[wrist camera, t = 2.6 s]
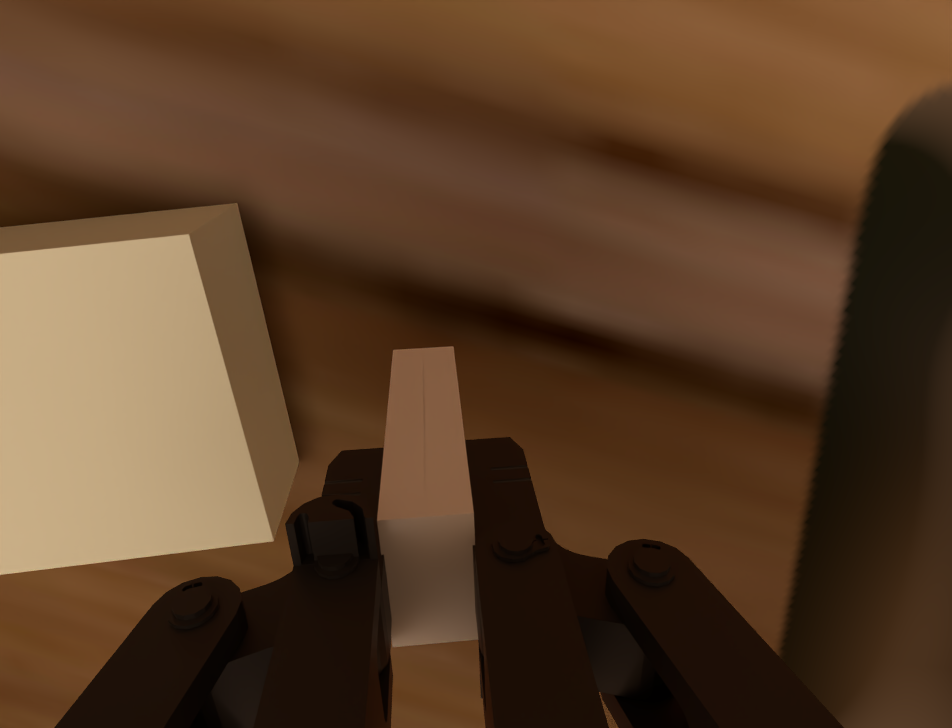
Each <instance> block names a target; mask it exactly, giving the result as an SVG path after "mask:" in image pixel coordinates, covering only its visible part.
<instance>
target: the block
mask: <svg viewBox="0 0 952 728" xmlns="http://www.w3.org/2000/svg"><path fill="white" fill-rule="evenodd" d="M298 464H299V458H298V454H297V450H296V445H295V441H294V437H293V433H292V429H291V425H290V420H289V416H288V412H287V408H286V404H285V400H284V396H283V391H282V387H281V383H280V379H279V375H278V371H277V366H276V362H275V358H274V354H273V350H272V346H271V341H270V337H269V333H268V329H267V325H266V321H265V317H264V312H263V308H262V304H261V300H260V296H259V292H258V287H257V283H256V279H255V275H254V271H253V267H252V263H251V258H250V254H249V250H248V246H247V242H246V238H245V233H244V229H243V225H242V221H241V217H240V213H239V208H238V204H237V203H232V204H222V205H213V206H203V207H193V208H184V209H174V210H164V211H154V212H145V213H135V214H125V215H116V216H106V217H96V218H87V219H77V220H67V221H58V222H48V223H38V224H28V225H19V226H9V227H0V575H2V574H10V573H18V572H26V571H35V570H43V569H51V568H59V567H67V566H75V565H84V564H92V563H100V562H108V561H116V560H124V559H133V558H141V557H149V556H157V555H165V554H173V553H182V552H190V551H198V550H206V549H214V548H222V547H230V546H239V545H247V544H255V543H263V542H271V541H274V539H275V536H276V533H277V530H278V526H279V523H280V520H281V517H282V514H283V511H284V508H285V505H286V502H287V499H288V495H289V492H290V489H291V486H292V483H293V480H294V477H295V474H296V471H297V468H298Z"/></svg>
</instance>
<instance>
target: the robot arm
mask: <svg viewBox="0 0 952 728" xmlns="http://www.w3.org/2000/svg"><path fill="white" fill-rule="evenodd" d="M285 525H286V530H287V535H288V540H289V545H290V550H291V555H292V560H293V565H294V567H293V571H292V572H290V573H289V574H287V575H285V576H284V577H282V578H281V579H279V580H276V581H274V582H271V583H269V584H266V585H263V586H260V587H257V588H254V589H251V590H248V591H245V592H242V593H241V592H240V588H239V587H237V586H236V585H235V584H234V583H233V582H232V581H231V580H228V579H225V578H221V577H218V576H216V577H200V578H197V579H194V580H191V581H187V582H184V583H182V584H180V585H178V586H176V587H175V588H173V589H171V590H169V591H168V592H166V593H165V594H164V595H163V596H162V597H161V598H160V599H159V600H158V601H156V602H155V603H154V604H153V605H152V607H151V608H150V609H149V610H148V612H147V613H146V614H145V615H144V617H143V618H142V619H141V620H140V622H139V623H138V624H137V625H136V627H135V628H134V629H133V630H132V632H131V633H130V634H129V635H128V637H127V638H126V639H125V640H124V642H123V643H122V644H121V645H120V647H119V648H118V649H117V650H116V652H115V653H114V654H113V655H112V657H111V658H110V659H109V660H108V662H107V663H106V664H105V665H104V666H103V668H102V669H101V670H100V671H99V673H98V674H97V675H96V676H95V678H94V679H93V680H92V681H91V683H90V684H89V685H88V686H87V688H86V689H85V690H84V691H83V693H82V694H81V695H80V696H79V698H78V699H77V700H76V701H75V703H74V704H73V705H72V706H71V708H70V709H69V710H68V711H67V713H66V714H65V715H64V716H63V718H62V719H61V720H60V721H59V723H58V724H57V725H56V726H55V728H391V709H392V685H393V672H392V664H391V656H390V647H391V638H392V646H393V647H401V646H412V645H423V644H434V643H445V642H456V641H468V640H478V641H479V661H480V685H481V698H483V705H484V716H485V726H486V728H609V727H608V723H607V720H606V716H605V713H604V709H603V706H602V702H601V699H600V695H599V692H600V693H601V696H602V699H603V701H604V703H605V704H606V706H607V708H608V710H609V711H610V713H611V715H612V717H613V718H614V720H615V722H616V724H617V725H618V727H619V728H843V726H842V725H841V724H840V723H839V722H838V721H837V720H836V719H835V718H834V717H833V716H832V714H831V713H830V712H829V711H828V710H827V709H826V708H825V707H824V706H823V705H822V703H821V702H820V701H819V700H818V699H817V698H816V697H815V696H814V695H813V694H812V692H811V691H810V690H809V689H808V688H807V687H806V686H805V685H804V684H803V683H802V682H801V681H800V679H799V678H798V677H797V676H796V675H795V674H794V673H793V672H792V671H791V670H790V668H789V667H788V666H787V665H786V664H785V663H784V662H783V661H782V660H781V659H780V657H779V656H778V655H777V654H776V653H775V652H774V651H773V650H772V649H771V648H770V647H769V645H768V644H767V643H766V642H765V641H764V640H763V639H762V638H761V637H760V636H759V635H758V633H757V632H756V631H755V630H754V629H753V628H752V627H751V626H750V625H749V624H748V622H747V621H746V620H745V619H744V618H743V617H742V616H741V615H740V614H739V613H738V612H737V610H736V609H735V608H734V607H733V606H732V605H731V604H730V603H729V602H728V601H727V600H726V598H725V597H724V596H723V595H722V594H721V593H720V592H719V591H718V590H717V589H716V588H715V586H714V585H713V584H712V583H711V582H710V581H709V580H708V579H707V578H706V577H705V575H704V574H703V573H702V572H701V571H700V570H699V569H698V568H697V567H696V566H695V565H694V563H693V562H692V561H691V560H690V559H689V558H688V557H687V556H685V555H684V554H683V553H682V552H680V551H679V550H678V549H677V548H675V547H672V546H670V545H667V544H665V543H663V542H660V541H653V540H647V539H640V540H631V541H627V542H625V543H623V544H620V545H618V546H616V547H615V548H614V550H613V551H612V552H611V553H610V554H609V556H608V559H602V558H595V557H589V556H584V555H580V554H576V553H573V552H571V551H569V550H566V549H564V548H562V547H561V546H559V545H558V544H557V543H556V542H555V541H554V539H553V537H552V536H551V534H550V533H548V532H547V531H546V530H545V528H544V524H543V521H542V517H541V513H540V510H539V506H538V502H537V499H536V495H535V491H534V488H533V484H532V481H531V477H530V473H529V469H528V467H527V462H526V458H525V455H524V451H523V449H522V448H521V447H520V446H519V445H518V444H517V443H515V442H514V441H513V440H512V439H511V438H510V437H505V438H491V439H476V440H465V437H464V429H463V420H462V412H461V404H460V396H459V388H458V380H457V371H456V363H455V355H454V347H453V346H449V347H433V348H417V349H401V350H393V357H392V367H391V378H390V388H389V399H388V410H387V420H386V431H385V441H384V448H373V449H359V450H345V451H341V452H340V453H339V454H338V456H337V457H336V458H335V459H334V460H333V461H332V462H331V463H330V464H329V466H328V470H327V474H326V479H325V485H324V487H323V492H322V497H319V498H316V499H314V500H312V501H309V502H307V503H305V504H303V505H302V506H300V507H299V508H298V509H297V510H295V511H294V512H293V513H292V514H291V515H290V517H289V519H288V521H287V522H286V524H285Z"/></svg>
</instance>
